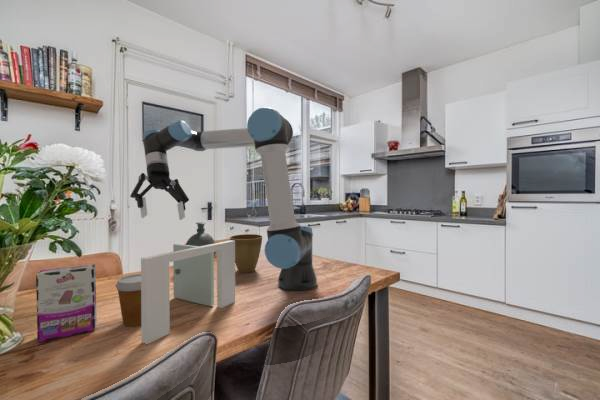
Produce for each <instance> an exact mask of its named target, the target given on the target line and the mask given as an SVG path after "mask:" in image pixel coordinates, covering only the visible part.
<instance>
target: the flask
mask: <svg viewBox="0 0 600 400" xmlns="http://www.w3.org/2000/svg"><path fill="white" fill-rule="evenodd" d="M195 224H196V225H197V228H196V232H197V233H195V234H192V235H191V236H190V237H189V238H188V239H187V241H186V243H185V245H191V246H205V245H210V244H215V243H216V242H215V239H214V238H213V237H212V235H211V234H209V233H206V232H205V231H206V229H205V225H206V222H202V221H201V222H195ZM216 255H217V251H216V252H214V258H215V256H216Z"/></svg>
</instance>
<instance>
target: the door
mask: <svg viewBox="0 0 600 400" xmlns="http://www.w3.org/2000/svg"><path fill="white" fill-rule="evenodd" d="M194 247H200V246H191V245H186V244H182V243H174V244H173V248H172V249H173V250H172V252H174V251H179V250H184V249H189V248H194ZM172 264H173V298H175V299H178V300H179V299H180V300H182V301H188V302H191V303H195V304H199V305H204V306H208V307H213V306H214V305H215V294H214V293H215V257H214V252H211V253H207V254H203V255H198V256H194V257H190V258H186V259H181V260H177V261H173V263H172Z"/></svg>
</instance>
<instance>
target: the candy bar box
mask: <svg viewBox="0 0 600 400" xmlns="http://www.w3.org/2000/svg"><path fill="white" fill-rule="evenodd" d="M96 275H97V274H96V264H93V263H92V264H85V265H75V266H68V267H67V266H66V267H59V268H49V269H42V270H39V272H37V273H36V275H35V288H36V327H37V328H36V329H37V333H36V334H37V343H43V342H49V341H53V340H58V339H62V338H66V337H71V336H76V335H80V334H85V333H89V332H94V331H96V326H97V324H98V321H97V318H98V317H97V288H96V287H97V285H96V284H97V283H96V282H97V280H96V277H97V276H96Z"/></svg>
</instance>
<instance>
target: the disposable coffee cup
mask: <svg viewBox="0 0 600 400" xmlns="http://www.w3.org/2000/svg"><path fill="white" fill-rule="evenodd" d="M115 288H116V290H117V293H118V299H119V304H120V305H119V306H120V313H121V319H122V325H123V326H125V327H130V328H131V327H137V326H141V273H136V274H130V275H126V276H124V277H121V278H119V279H117V282H116V284H115Z"/></svg>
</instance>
